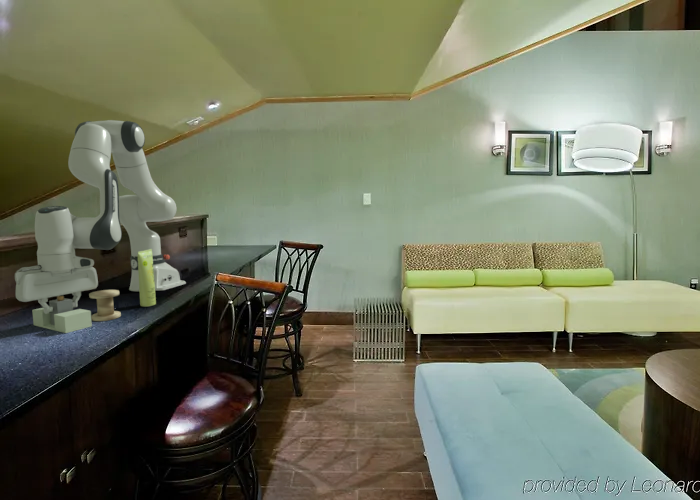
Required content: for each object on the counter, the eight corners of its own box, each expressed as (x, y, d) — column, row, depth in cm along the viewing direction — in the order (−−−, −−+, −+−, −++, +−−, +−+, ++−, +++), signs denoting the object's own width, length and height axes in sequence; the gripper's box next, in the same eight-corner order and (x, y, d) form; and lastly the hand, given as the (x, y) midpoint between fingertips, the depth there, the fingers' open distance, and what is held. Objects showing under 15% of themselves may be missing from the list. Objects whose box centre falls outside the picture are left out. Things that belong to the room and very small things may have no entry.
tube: (157, 305, 139) (154, 250, 137) (141, 308, 137) (137, 251, 134) (154, 302, 144) (151, 248, 142) (139, 304, 141) (135, 249, 139)
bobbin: (110, 312, 131) (109, 288, 130) (126, 315, 127) (124, 291, 126) (85, 319, 124) (83, 293, 123) (101, 322, 120) (99, 296, 119)
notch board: (59, 319, 124) (58, 304, 123) (91, 326, 116) (90, 310, 116) (33, 325, 117) (32, 309, 117) (65, 333, 110) (64, 316, 110)
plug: (73, 322, 118) (71, 295, 117) (59, 326, 114) (56, 298, 113) (66, 320, 120) (63, 294, 119) (51, 324, 116) (48, 296, 115)
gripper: (20, 269, 104) (25, 320, 106) (99, 259, 122) (102, 303, 124) (7, 267, 107) (13, 317, 109) (86, 258, 125) (90, 301, 127)
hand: (61, 310), depth 116 cm, fingers open, 5 cm apart
